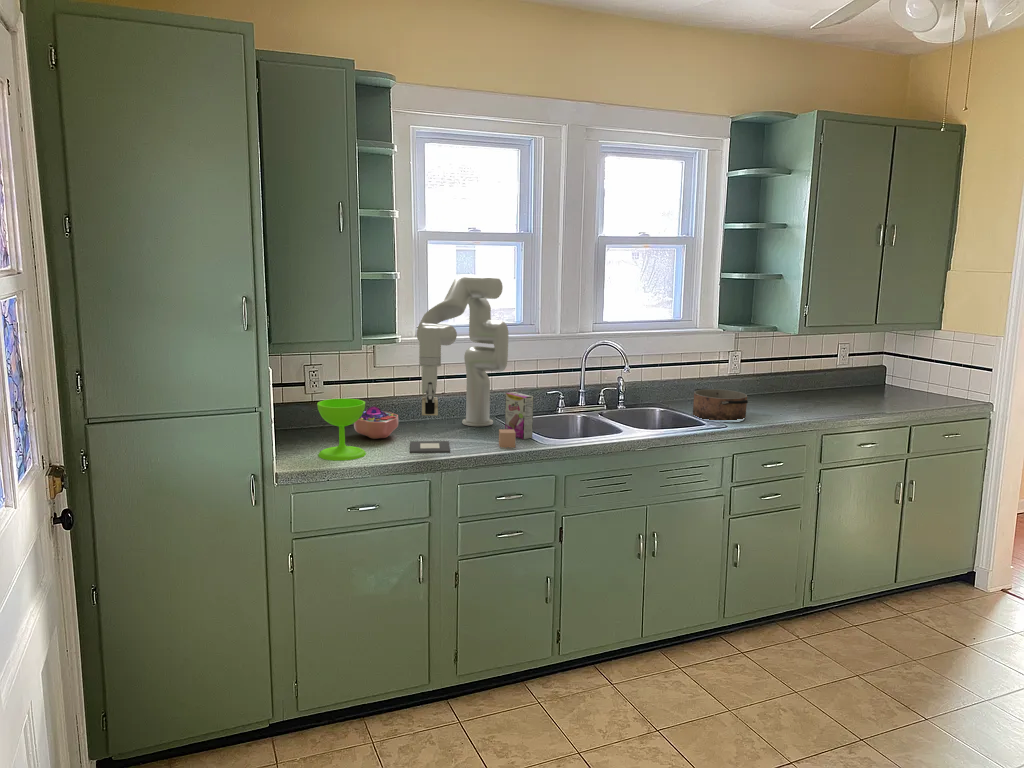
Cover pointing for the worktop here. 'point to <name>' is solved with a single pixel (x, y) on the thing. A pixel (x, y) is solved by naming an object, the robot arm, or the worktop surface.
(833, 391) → the worktop surface
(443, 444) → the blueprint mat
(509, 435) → the terracotta block
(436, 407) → the birch block
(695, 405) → the cooking pot
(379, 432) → the cell model
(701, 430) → the worktop surface
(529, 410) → the candy bar box
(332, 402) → the wineglass
